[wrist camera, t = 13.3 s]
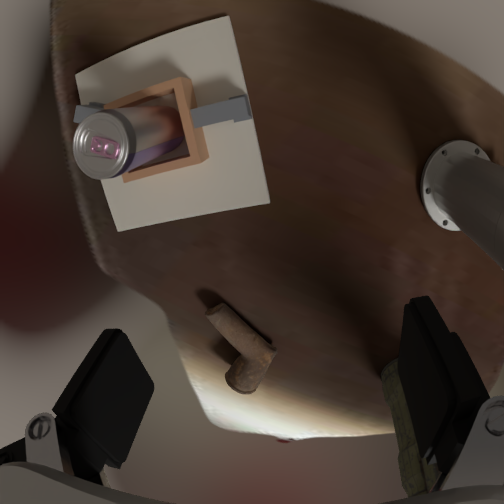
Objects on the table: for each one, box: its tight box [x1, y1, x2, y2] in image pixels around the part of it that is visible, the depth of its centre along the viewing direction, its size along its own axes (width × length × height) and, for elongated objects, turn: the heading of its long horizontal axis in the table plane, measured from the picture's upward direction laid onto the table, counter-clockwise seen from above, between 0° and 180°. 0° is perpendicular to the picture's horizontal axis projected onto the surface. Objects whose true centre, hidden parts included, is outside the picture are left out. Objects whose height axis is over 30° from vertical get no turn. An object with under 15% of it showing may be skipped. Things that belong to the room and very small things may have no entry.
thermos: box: [381, 358, 441, 498], centre depth 34 cm, size 9×12×35 cm
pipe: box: [205, 303, 277, 394], centre depth 47 cm, size 6×17×10 cm
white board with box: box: [74, 16, 270, 232], centre depth 33 cm, size 22×24×5 cm
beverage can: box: [73, 106, 185, 179], centre depth 28 cm, size 6×6×15 cm
